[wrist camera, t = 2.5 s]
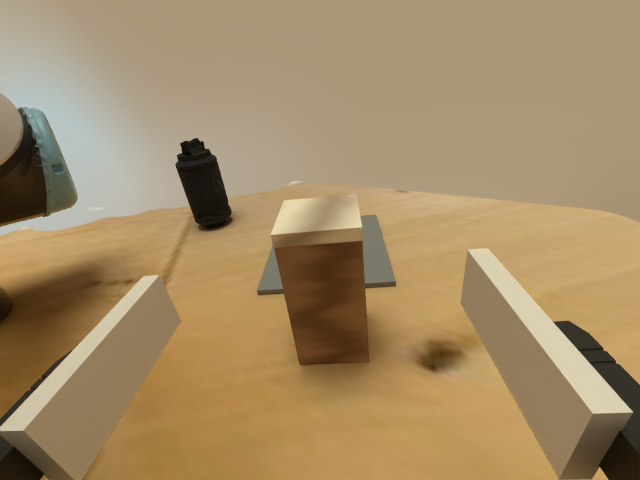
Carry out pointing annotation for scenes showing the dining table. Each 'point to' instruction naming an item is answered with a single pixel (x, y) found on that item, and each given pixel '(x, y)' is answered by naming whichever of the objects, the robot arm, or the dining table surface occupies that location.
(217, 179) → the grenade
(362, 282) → the block
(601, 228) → the dining table surface
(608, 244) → the dining table surface
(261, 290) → the mat
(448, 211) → the dining table surface
